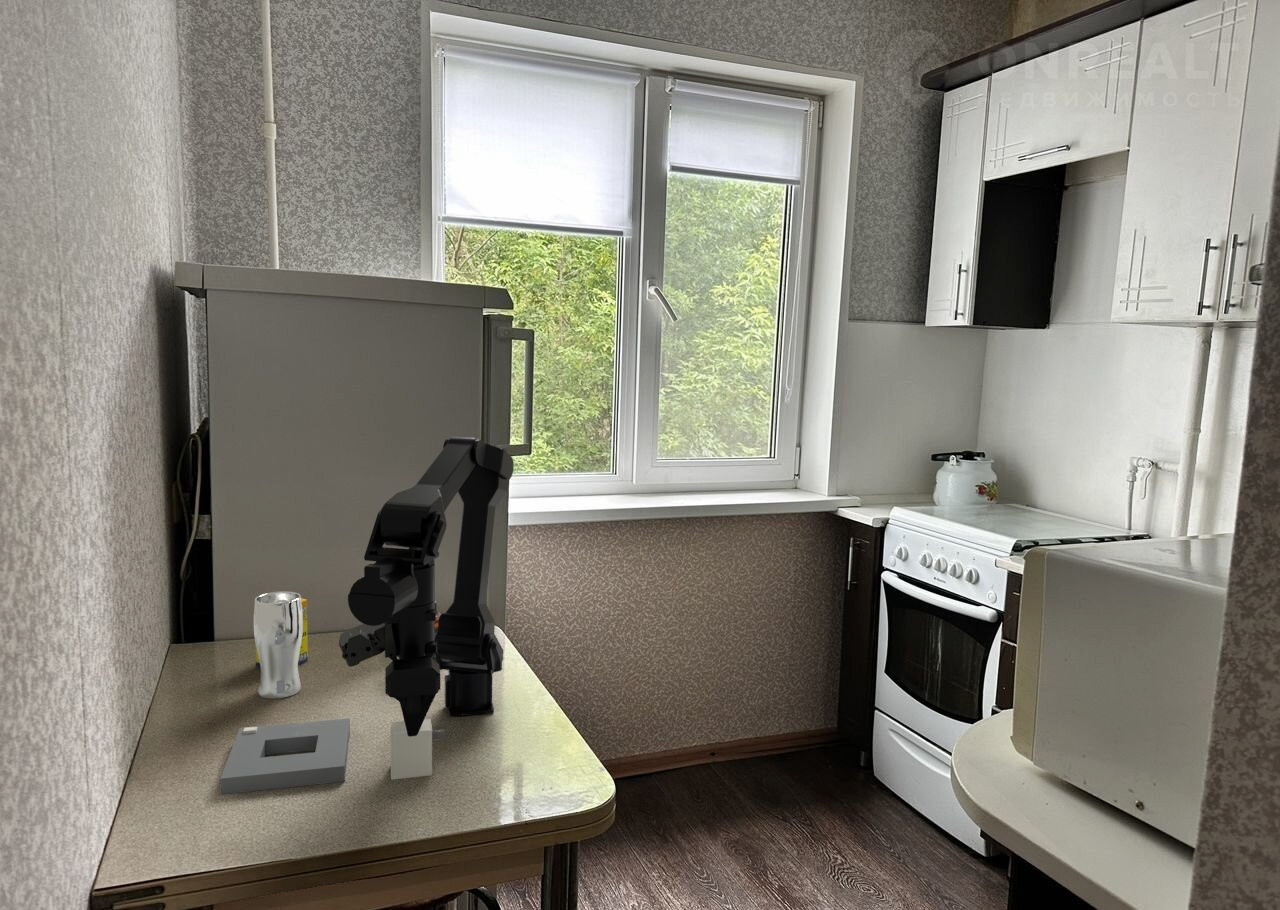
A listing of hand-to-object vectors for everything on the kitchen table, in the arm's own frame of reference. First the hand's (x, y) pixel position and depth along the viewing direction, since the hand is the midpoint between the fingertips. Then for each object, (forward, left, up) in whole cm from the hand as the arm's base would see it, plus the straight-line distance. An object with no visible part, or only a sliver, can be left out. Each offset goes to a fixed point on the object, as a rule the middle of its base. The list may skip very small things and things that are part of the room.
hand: (411, 719), depth 108 cm
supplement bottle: (-3, -36, -7) cm, 37 cm away
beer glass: (+19, -30, -7) cm, 36 cm away
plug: (0, 0, -7) cm, 7 cm away
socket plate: (+15, -6, -7) cm, 18 cm away
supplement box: (+20, -42, -7) cm, 47 cm away
